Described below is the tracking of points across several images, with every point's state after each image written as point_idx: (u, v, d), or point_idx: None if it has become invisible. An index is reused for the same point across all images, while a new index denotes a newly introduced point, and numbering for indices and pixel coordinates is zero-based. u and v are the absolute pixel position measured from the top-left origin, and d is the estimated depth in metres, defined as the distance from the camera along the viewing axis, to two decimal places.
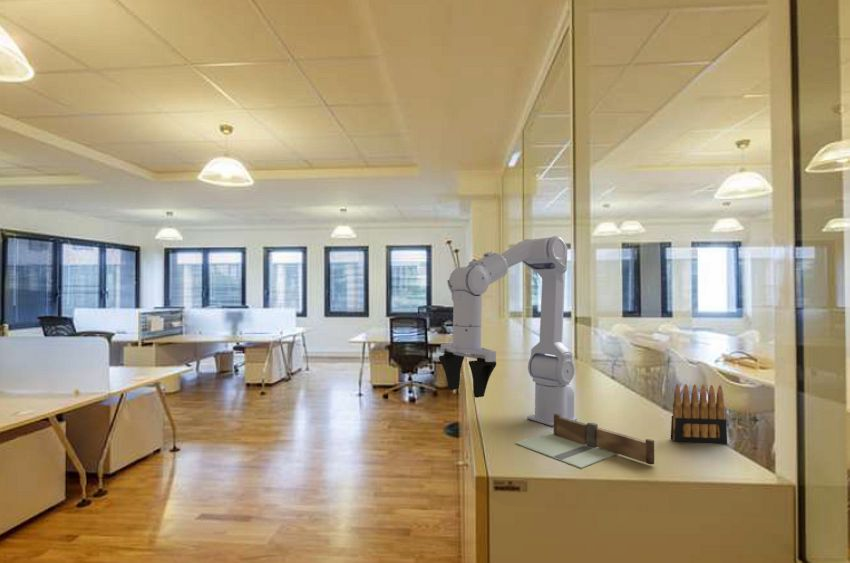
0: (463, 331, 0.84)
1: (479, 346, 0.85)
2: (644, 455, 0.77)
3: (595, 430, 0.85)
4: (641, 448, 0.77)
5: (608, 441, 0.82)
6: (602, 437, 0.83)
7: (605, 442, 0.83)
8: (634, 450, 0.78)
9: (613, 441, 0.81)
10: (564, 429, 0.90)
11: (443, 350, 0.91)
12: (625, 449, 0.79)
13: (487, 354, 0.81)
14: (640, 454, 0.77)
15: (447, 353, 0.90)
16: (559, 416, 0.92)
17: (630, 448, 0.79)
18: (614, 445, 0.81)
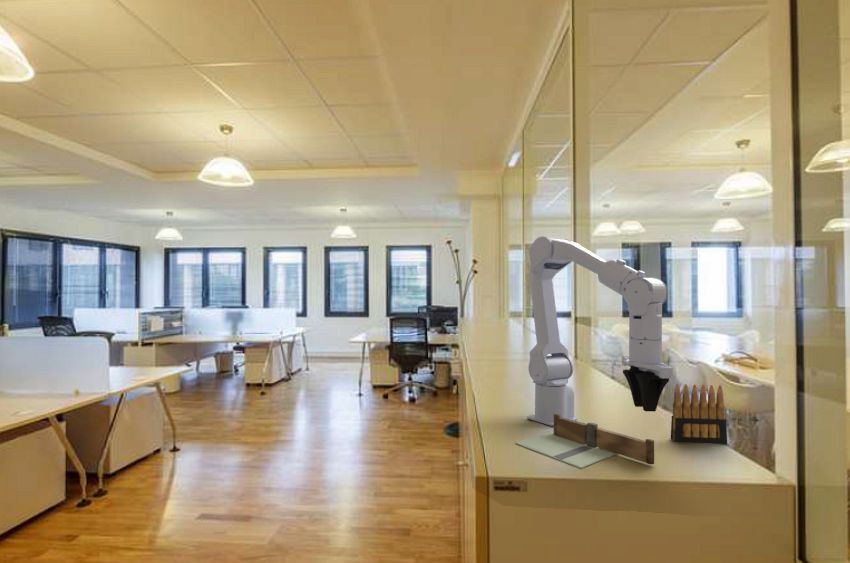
0: (637, 344, 0.82)
1: (658, 361, 0.81)
2: (644, 455, 0.77)
3: (595, 430, 0.85)
4: (641, 448, 0.77)
5: (608, 441, 0.82)
6: (602, 437, 0.83)
7: (605, 442, 0.83)
8: (634, 450, 0.78)
9: (613, 441, 0.81)
10: (564, 429, 0.90)
11: None
12: (625, 449, 0.79)
13: (660, 370, 0.77)
14: (640, 454, 0.77)
15: None
16: (559, 416, 0.92)
17: (630, 448, 0.79)
18: (614, 445, 0.81)
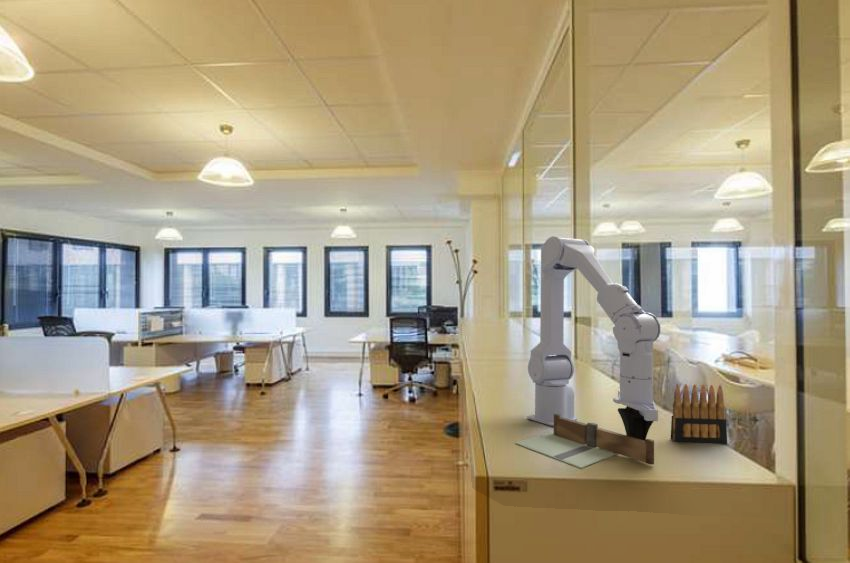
0: (626, 382, 0.80)
1: (647, 401, 0.78)
2: (644, 455, 0.77)
3: (595, 430, 0.85)
4: (641, 448, 0.77)
5: (608, 441, 0.82)
6: (602, 437, 0.83)
7: (605, 442, 0.83)
8: (633, 450, 0.78)
9: (613, 441, 0.81)
10: (564, 429, 0.90)
11: None
12: (625, 449, 0.79)
13: (645, 412, 0.74)
14: (640, 454, 0.77)
15: None
16: (559, 416, 0.92)
17: (630, 448, 0.79)
18: (614, 445, 0.81)
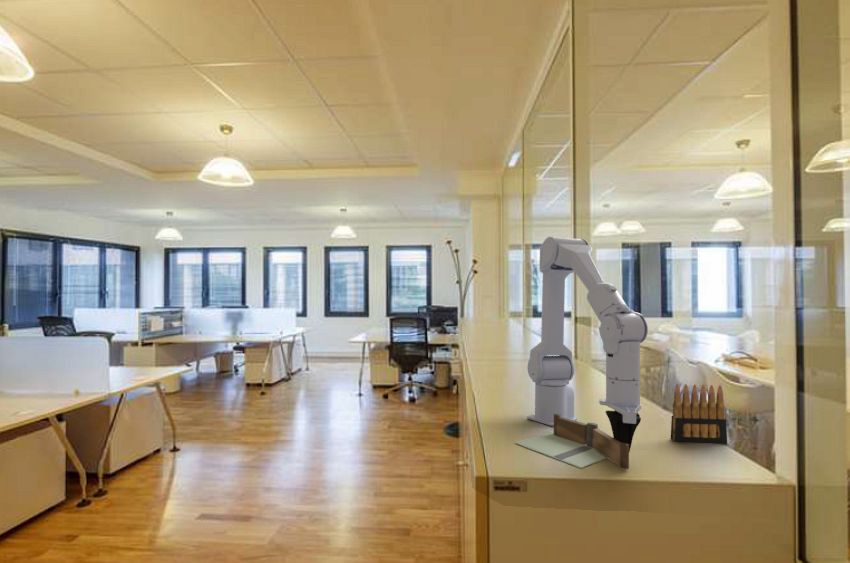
0: (610, 383, 0.78)
1: (631, 403, 0.76)
2: (618, 458, 0.75)
3: None
4: (617, 451, 0.75)
5: (598, 441, 0.82)
6: (595, 438, 0.83)
7: (597, 443, 0.82)
8: (613, 453, 0.77)
9: (601, 442, 0.81)
10: (564, 429, 0.90)
11: None
12: (608, 451, 0.78)
13: (622, 414, 0.73)
14: (616, 457, 0.76)
15: None
16: (559, 416, 0.92)
17: (611, 450, 0.77)
18: (602, 446, 0.80)
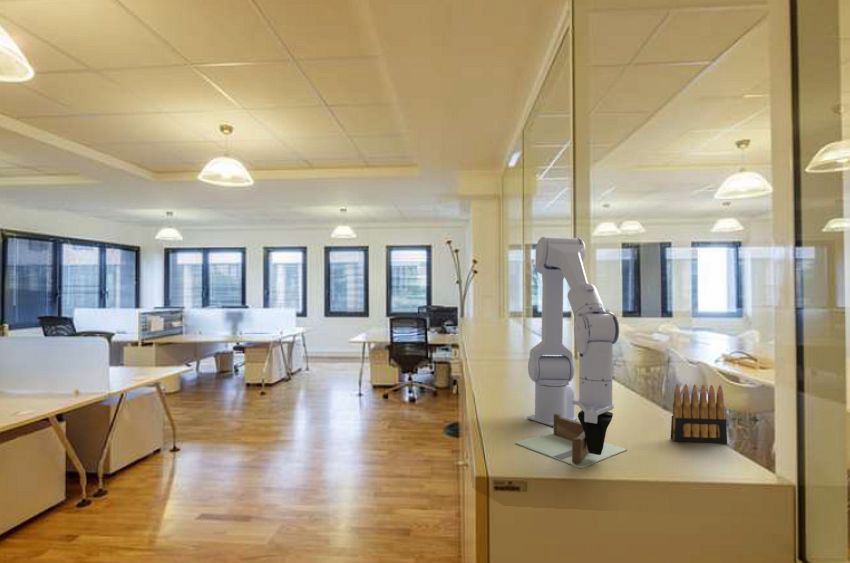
0: (580, 383, 0.78)
1: (600, 403, 0.76)
2: None
3: None
4: None
5: None
6: None
7: None
8: None
9: None
10: (564, 429, 0.90)
11: None
12: None
13: (584, 413, 0.73)
14: None
15: None
16: (559, 416, 0.92)
17: None
18: None
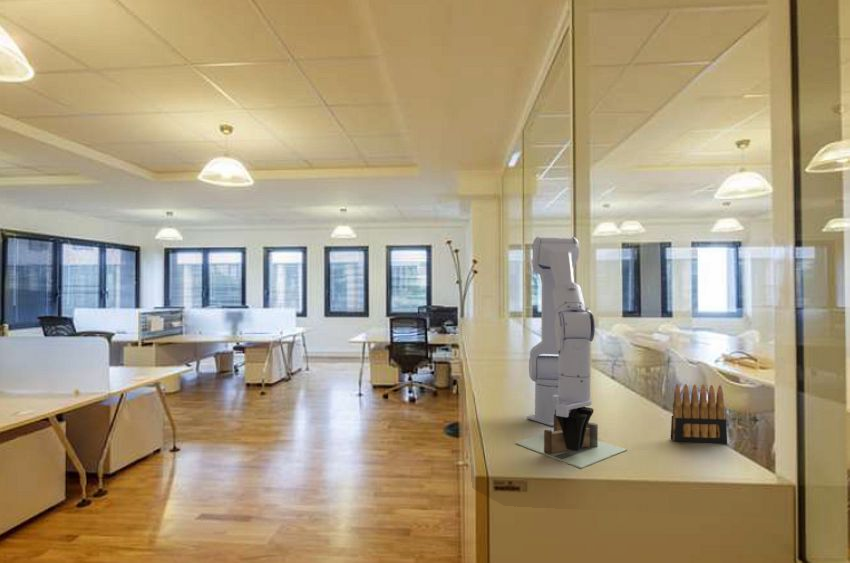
0: (559, 379, 0.81)
1: (575, 399, 0.78)
2: None
3: (595, 430, 0.85)
4: None
5: None
6: None
7: None
8: None
9: None
10: None
11: None
12: None
13: None
14: None
15: None
16: None
17: None
18: None
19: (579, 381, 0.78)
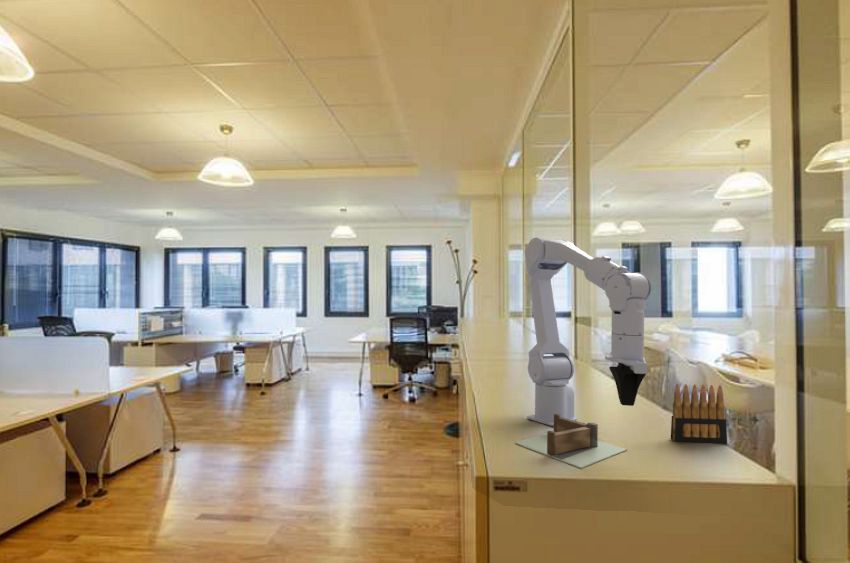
0: (617, 339, 0.82)
1: (638, 357, 0.80)
2: None
3: (595, 430, 0.85)
4: None
5: None
6: None
7: None
8: None
9: None
10: (564, 429, 0.90)
11: None
12: None
13: (634, 365, 0.76)
14: None
15: None
16: (559, 416, 0.92)
17: None
18: None
19: (640, 339, 0.81)
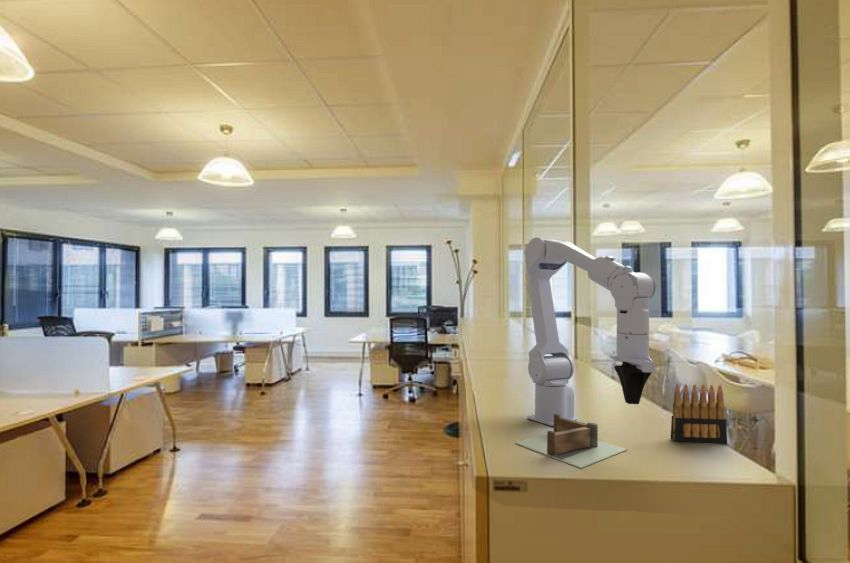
0: (623, 338, 0.82)
1: (643, 356, 0.81)
2: None
3: (595, 430, 0.85)
4: None
5: None
6: None
7: None
8: None
9: None
10: (564, 429, 0.90)
11: None
12: None
13: (643, 364, 0.77)
14: None
15: None
16: (559, 416, 0.92)
17: None
18: None
19: (646, 338, 0.81)
